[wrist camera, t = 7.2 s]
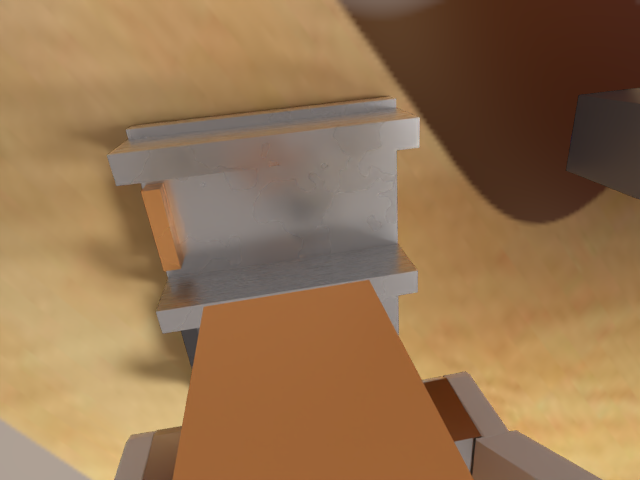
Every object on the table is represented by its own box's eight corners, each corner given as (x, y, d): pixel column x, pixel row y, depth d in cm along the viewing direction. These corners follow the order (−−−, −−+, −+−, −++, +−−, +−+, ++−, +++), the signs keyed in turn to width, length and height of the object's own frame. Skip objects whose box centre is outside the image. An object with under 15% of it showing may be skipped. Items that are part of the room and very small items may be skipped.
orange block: (369, 280, 10) (503, 536, 5) (375, 400, 12) (480, 691, 6) (203, 306, 10) (147, 620, 4) (234, 427, 12) (221, 761, 6)
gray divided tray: (389, 96, 20) (419, 106, 16) (394, 357, 27) (416, 404, 23) (131, 125, 19) (103, 144, 15) (205, 390, 26) (197, 446, 22)
